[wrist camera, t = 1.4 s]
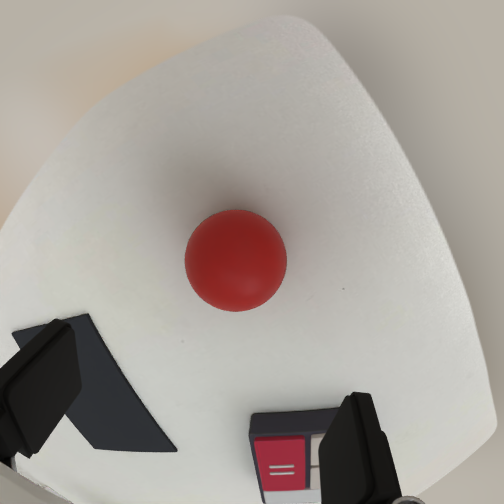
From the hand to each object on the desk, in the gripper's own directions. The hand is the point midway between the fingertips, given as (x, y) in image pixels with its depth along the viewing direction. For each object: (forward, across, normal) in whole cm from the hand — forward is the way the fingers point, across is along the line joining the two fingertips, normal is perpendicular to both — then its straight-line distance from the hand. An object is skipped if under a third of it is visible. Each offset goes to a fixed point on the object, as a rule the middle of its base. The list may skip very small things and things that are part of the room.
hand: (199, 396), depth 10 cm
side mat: (+15, +14, +21) cm, 30 cm away
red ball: (+12, 0, 0) cm, 12 cm away
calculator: (+15, -11, +22) cm, 29 cm away
